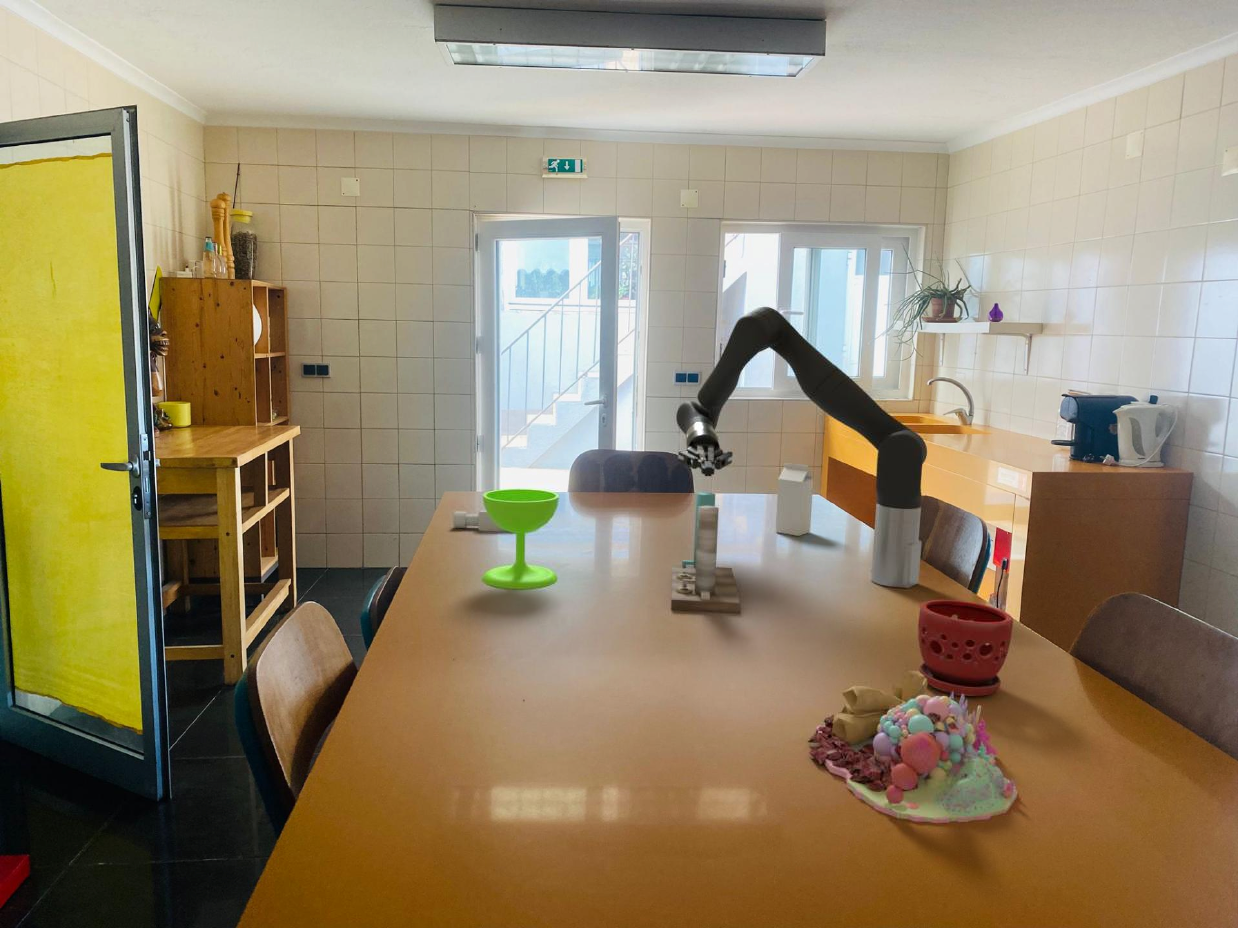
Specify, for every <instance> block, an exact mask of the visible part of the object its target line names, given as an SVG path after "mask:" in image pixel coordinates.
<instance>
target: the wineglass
mask: <svg viewBox="0 0 1238 928" xmlns="http://www.w3.org/2000/svg"><path fill="white" fill-rule="evenodd" d="M559 499H560V494H558V493H556V492H553V491H550V490H549V491H548V490H545V489H544V490H543V489H532V488H506V489H498V490H497V489H495V490H489V491H487V492H485V493H483V494H482V501H483V505H484V509H485V511H487V513H488V515H489V517H490V518H491V519H492V520H493V522H494V523H495V524H497V525H498V526H499V527H501V528H502V529H504V530H507V531H506V532H510V533H514V534H515V562H514V564H510V565H502V566H496V567H494V568H491V569H489V570H487V571H486V572H484V574H483V576H482V578H481V580H482V582H483V583H485V584H487V585H489V586H491V587H496V588H501V589H510V590H529V589H531V590H532V589H539V588H543V587H549V586H551V585H553V584H555V583H556V582H557V581H558V576H557V574H556V573H555V572H554V571H553V570H551V569H550V568H547V567H544V566H539V565H535V564H533V565H532V564H527V563H526V534H528V533H531V532H535V531H537V530H539V529H541V528H542V527H543V526H545V525H547V524H548V523H549V521H550V520H551V519H552V518H553V517H554V515H555V512H556V510H557V508H558V505H559Z"/></svg>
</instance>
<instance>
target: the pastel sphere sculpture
mask: <svg viewBox="0 0 1238 928" xmlns="http://www.w3.org/2000/svg"><path fill="white" fill-rule="evenodd" d="M927 687H928V683H927V678H925V676H924V675H923V674H921V673H920V672H919V670H907V671H905V672H904V673H903V677H902V679H901V686H899V685H897V684H894V685H893V687H892V689H891V694H890V693H889V692H886V691H885V690H879V689H876V688H872V687H871V686H866V685H865V686H863V685H853V686H852V687H850V688H848V689H846V690H845V691H843V692H842V693H841V694H842V695H843V697H844V699H845V701H846V702H847V703H848V704H846V705H844V706H843V709H842V710H841V711H840V712H838V713H837V714H833V715H831V716H829V717H825V718H824V720H823V722H824V725H817V726H816V731H815V733H814V734H813V735H812V736H811V737H810V738H809V740H807V743H811V744H812V743H813V744H817V745H816V746H815V747H813V748H812V749H811V751H809V752H808V754H809V755H811V756H812V758H813V759H815V760H816V761H817V762H818V763H819V765H823V764H824V766H825V767H826V769H827V770H828V771H829V772H830V773H831V774H834V775H836V776H839V777H842V778H844V779H845V783H846V789H848V790H850V791H851V792H852V793H853V794H854V796H855V797H856V798H857V799H859V800H862V801H864V802H865V803H866V804H867V805H869V806H871V807H872V808H873V809H874V810H876V811H878V812H881V813H884V814H886V815H890V816H891V817H895V818H897V819H906V820H910V821H913V822H915V823H916V822H917V823H919V822H928V823H931V824H932V823H933V824H939V823H940V824H943V823H948V824H949V823H950V822H959V823H963V822H965V823H968V822H969V821H977V820H980V821H981V820H989V819H991V817H993V816H998V815H1001V814H1005V813H1006V814H1007V812H1008V811H1009V809H1010V808H1011V807H1012V805H1013V804H1014V802H1015V800H1016V799H1017V798H1018V791H1017V790H1016V785H1015V782H1014V781H1015V780H1014V779H1013V780H1012V779H1010V780H1009V779H1008V778H1006V777H1004V774H1003V772H1002V770H1001V769H1000V767H998V766H997V765H996V762H997V761H996V759H995V758H996V755H997V750H996V748H995V746H992V745H990V743H989V741H990V740H991V737H992V736H991V735H990V734H989V733H988V732H987V727H986V726H987V724H986V721H985V720H984V718H983V716H982V715H981V710H982V706H981V705H978V706H977V709H976V713H975V710H973V712H971V713H970V714H969V709H968V708H967V707H968V698H966V697H965V696H964V694H962V695H960V699H959V702H957V701H955V700H954V698H955V697H954V696H955V695H954V694H953V692H952V693H950V695H949V697H948V696H947V695H941V696H940V695H936V696H933V697H931V696H930V695H928V694H925V693H926V689H927ZM965 698H966V699H965ZM964 701H965V702H964ZM968 714H969V715H968ZM964 715H965V716H964ZM979 719H980V722H981V723H979ZM978 723H979V724H978Z"/></svg>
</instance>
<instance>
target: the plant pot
mask: <svg viewBox="0 0 1238 928" xmlns="http://www.w3.org/2000/svg"><path fill="white" fill-rule="evenodd" d="M919 607H920V608H919V614H918V622H917V623H918V624H917V630H918V631H917V634H918V635H917V636H918V646H919V650H920V654H921V658H922V660H923V663H921V664H920V665H919V669H918V671H919V672H920V673H921V674H923V675H924V676H925V678H927V685H929V686H931V687H933V688H935V689H937V690H938V691H942V692H945V693H948V694H952V692H953V694H954V696H955V697H956V696H957V697H958V696H962V694H964V697H965V696H966V697H980V696H986V695H990V694H993V693H995V692H996V691H997V690H998V689H999V688H1000V686H1001V684H1002V682H1001V681H1002V680H1001V678H1000V677H999V675H998V673H999V672H1000V671H1001V669H1002V668H1003V666H1004V665H1005V664H1004V663H1005V662H1006V659H1007V656H1008V653H1009V649H1010V645H1011V640H1012V633H1013V625H1014V624H1013V623H1014V619H1013V616H1011V614H1010V613H1008V612H1006V611H1004V610H1001V609H999V608H996V607H993V606H990V605H986V604H981V603H977V602H970V601H965V600H964V601H963V600H957V599H955V600H952V599H935V600H928V601H924V602H922V603H921V605H920V606H919ZM953 616H957V618H954V617H953Z"/></svg>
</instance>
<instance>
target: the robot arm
mask: <svg viewBox="0 0 1238 928" xmlns="http://www.w3.org/2000/svg"><path fill="white" fill-rule="evenodd" d="M769 348H770V349H771V350H772V351H774V352H775V353H776V354H777V355H779V356H780V357H781V358H782V359H783V360H785V362H786V363H787V364H788V365H789V366H790V368H791V370H792V372H793V374H794V377H795V378H796V381H797V383H798V386H799V387H800V388H801V390H802V393H803V394H804V395H805V396H806V397H807V398H808V399H809V400H810V401H811V402H813V404H815V405H816V407H818V408H820V410H822V411H823V412H825V413H826V414H827V415H828V416H830V417H831V418H833V419H835V420H836V421H837V422H839V423H841V424H843V425H845V426H846V427H848V428H850V429H852V430H853V431H855V432H857V433H858V434H859V435H861V436H862V437H864V438H865V440H867V441H868V443H870V444H871V445H872V446H873V447H874V448H875V449H876V450H877V457H876V474H875V475H876V476H875V491H876V506H875V519H874V521H875V522H874V532H873V547H872V560H871V562H872V563H871V576H870V577H871V578H870V580H871V581H872V582H873V583H876V584H877V585H881V586H886V587H891V588H904V589H910V588H912V587H913V586H916V585H918V584H919V580H920V579H919V577H920V568H921V567H920V566H921V565H920V564H921V556H922V555H921V553H922V550H921V549H922V541H921V540H920V539H919V537H920V525H921V523H920V522H921V511H922V501H923V499H922V498H923V496H922V486H921V485H922V474H923V473H922V472H923V464H924V463H925V462H926V459H927V455H928V449H927V445H926V442H925V440H924V439H923V437H921V435H919V434H918V433H917V432H916V431H914V430H912V429H911V428H909V427H908V426H906V425H904V424H903V423H902V422H900V420H897V419H896V418H895V417H893V416H892V415H891V414H889V413H888V412H887V411H886V410H885V409H883V408H882V407H881V406H880V405H879V404H878V402H876V401H875V400H874V399H873V398H872V397H871V395H869V394H868V393H867V392H866V391H865V390H864V389H863V388H862V387H861V386H860V385H859V384H857V383H856V382H855V381H854V380H853V378H851V377H850V376H849V375H848V374H847V373H845V372H844V371H843V370H842V369H840V368H839V367H838V366H837V365H835V364H834V362H833V363H832V361H831V360H829V359H828V358H827V357H826V356H825V355H824V354H823V353H821V351H819V350H818V349H817V348H815V347H814V346H813V345H812V344H811V343H810V342H809V341H807V340H806V338H804V336H802V334H800V333H799V331H798V330H797V329H796V328H795V327H794V326H793V325H792V324H791V323H790V322H789V321H788V320H787V319H786V317H784V316H783V315H782V314H781V313H780V312H779V311H777V310H776V309H775V308H773V307H770V306H761V307H758V308H755V309H753V310H751V311H750V312H749V311H748V312H747V313H745V314H743V315H742V316H740V318H738V319H737V321H736V323H735V325H734V327H733V329H732V332H731V333H730V336H729V338H728V341H727V343H726V345H725V347H724V349H723V352H722V354H721V355H720V358H719V360H718V362H717V363H716V365H715V366H714V368H713V370H712V371H711V373H710V374H709V376H708V377H707V378H706V380H705V382H704V383H703V384H702V386H701V388H700V389H699V391H698V393H697V395H696V396H697V401H698V403H697V402H696V401H692V400H687V401H684V402H683V403H682V404H680V405H679V407H678V409H677V411H676V419H675V420H676V424H677V425H678V427H679V429H680V430H681V432H683V433H684V435H685V445H686V451H685V450H682V449H679V450H678V453H677V462H679V463H680V464H682V465H684V466H687V467H688V468H691V469H693V470H697V469H698V468H699V470H700V472H701V474H702V475H704V477H712V475H715V470H716V471H717V470H718V471H719V470H722V469H723V468H725V467H727V466H729V465H730V464H732V462H733V455H734V453H733V452H732V451H727V452H724V450H723V449H722V448H721V447H720V442H719V437H718V435H717V432H716V428H717V426H718V422H719V419H720V414H721V412H722V409H723V407H724V405H725V404H726V403H727V401H728V399H729V398H730V397H731V396H732V394H733V392H734V391H735V390H736V388H737V386H738V382H739V381H740V376H741V374H742V371H743V369H744V368H745V367H746V366H747V364H748V363H749V362H750V361H752V359H753V358H754V357H756V356H757V354H759V353H760V352H764V351H765V350H767V349H769Z"/></svg>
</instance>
